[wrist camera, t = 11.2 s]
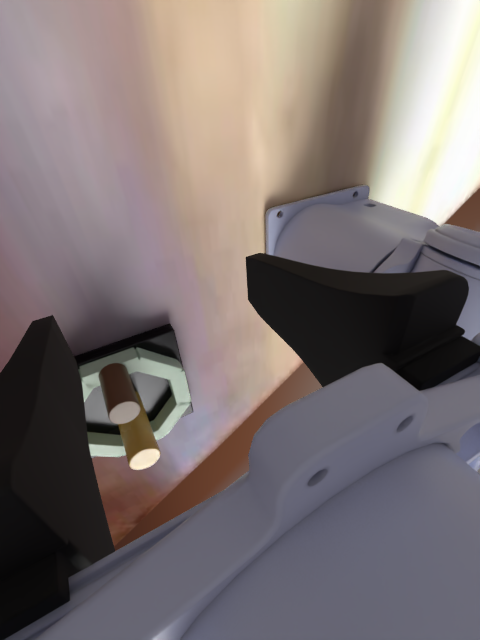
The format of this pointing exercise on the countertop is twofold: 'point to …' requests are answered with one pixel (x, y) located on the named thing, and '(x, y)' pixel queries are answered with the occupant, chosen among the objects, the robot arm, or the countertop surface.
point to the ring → (132, 394)
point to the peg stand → (148, 391)
